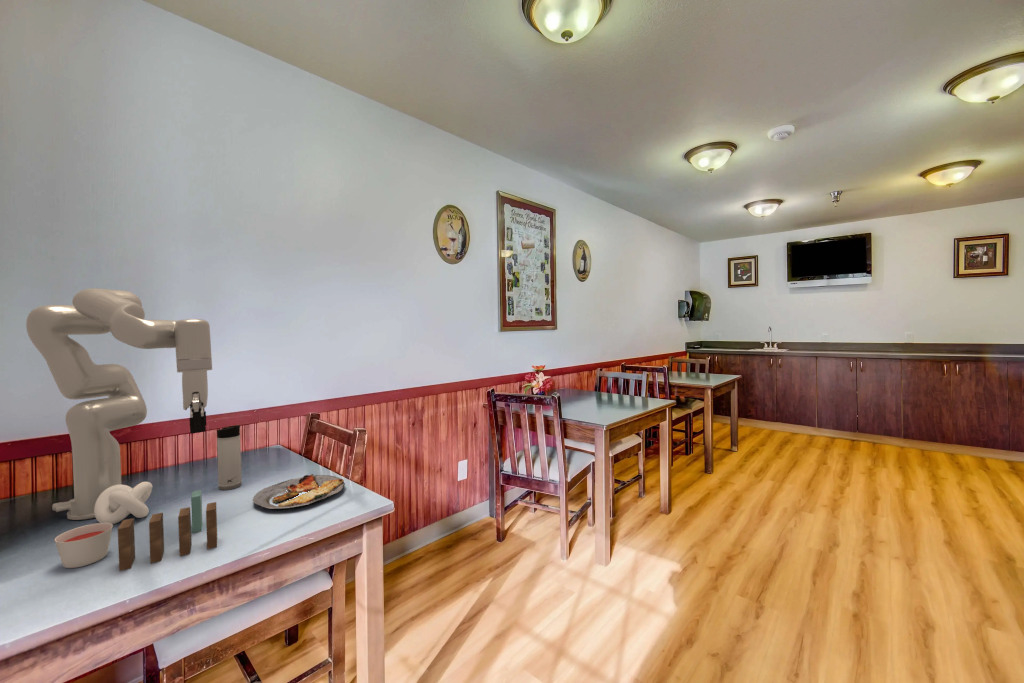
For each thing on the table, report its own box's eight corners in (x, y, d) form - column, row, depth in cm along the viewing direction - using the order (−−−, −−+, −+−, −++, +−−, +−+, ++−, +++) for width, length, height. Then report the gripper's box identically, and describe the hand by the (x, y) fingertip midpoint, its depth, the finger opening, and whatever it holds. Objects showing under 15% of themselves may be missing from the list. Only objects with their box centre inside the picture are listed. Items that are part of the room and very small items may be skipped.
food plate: (315, 476, 144) (315, 466, 144) (360, 489, 132) (360, 478, 132) (237, 504, 123) (237, 492, 122) (283, 523, 111) (282, 510, 110)
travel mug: (234, 490, 132) (232, 427, 132) (213, 490, 132) (211, 428, 132) (247, 483, 139) (245, 423, 138) (227, 483, 139) (225, 423, 138)
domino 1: (119, 571, 88) (117, 529, 88) (124, 560, 92) (122, 520, 92) (130, 568, 89) (129, 526, 89) (135, 557, 93) (133, 518, 93)
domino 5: (207, 549, 96) (205, 511, 96) (208, 540, 100) (207, 503, 100) (216, 547, 97) (215, 509, 97) (217, 538, 101) (216, 501, 101)
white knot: (164, 514, 115) (163, 482, 115) (106, 533, 105) (104, 498, 104) (147, 506, 121) (146, 476, 121) (90, 523, 110) (89, 490, 110)
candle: (124, 548, 97) (123, 522, 97) (86, 571, 88) (85, 541, 88) (85, 550, 97) (83, 523, 96) (42, 572, 88) (41, 543, 87)
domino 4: (192, 533, 104) (191, 497, 104) (193, 525, 108) (192, 491, 108) (201, 531, 105) (200, 495, 105) (202, 523, 109) (201, 489, 109)
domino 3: (179, 556, 93) (178, 516, 93) (181, 546, 97) (180, 508, 97) (189, 553, 94) (188, 514, 94) (191, 544, 98) (190, 507, 98)
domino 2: (150, 563, 91) (148, 522, 90) (154, 553, 95) (152, 514, 94) (161, 560, 92) (159, 520, 91) (164, 551, 96) (162, 512, 95)
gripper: (179, 365, 116) (183, 426, 116) (174, 368, 102) (178, 437, 102) (212, 363, 120) (216, 422, 120) (211, 365, 106) (216, 432, 106)
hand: (198, 429), depth 111 cm, fingers open, 9 cm apart
